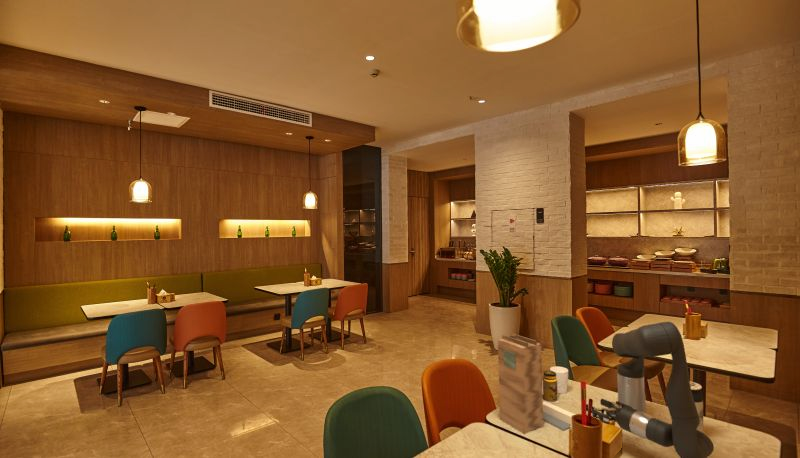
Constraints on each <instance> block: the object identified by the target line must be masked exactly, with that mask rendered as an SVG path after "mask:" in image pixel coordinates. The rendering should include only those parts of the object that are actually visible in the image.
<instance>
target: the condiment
mask: <svg viewBox="0 0 800 458" xmlns="http://www.w3.org/2000/svg"><path fill="white" fill-rule="evenodd" d="M558 394H559V393H557V379H556V373H555V372H554V371H550V370H544V371H543V374H542V396H543V402H544V401H546V402H548V403H551V404H552V403H553V404H554V403H555V404H559V403H560V401H559V396H558Z"/></svg>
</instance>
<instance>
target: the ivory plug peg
mask: <svg viewBox="0 0 800 458" xmlns="http://www.w3.org/2000/svg"><path fill="white" fill-rule="evenodd" d="M543 412H545V413H547V414H549V415H552V416H554V417H556V418H558V419H560V420H562V421H564V422H566V423H569V424H571V416H572V415H576V414H575V413H573V412H570V411H568V410H566V409H563V408H561V407H559V406H557V405H555V404H552V403H551V402H546V401H543Z"/></svg>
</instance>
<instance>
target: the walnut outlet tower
mask: <svg viewBox="0 0 800 458" xmlns="http://www.w3.org/2000/svg"><path fill="white" fill-rule="evenodd" d="M501 337H502V338H501V339H497V352H498V353H497V359H498V361H497V362H498V394H499V395H498V396H499V397H498V399H499V420H500V421H502V422H503V423H505V424H507V425H509V426H511V427H512V428H513V429H515V430H517V431H519V432H520V433H522V434H524V435H526V434H528V433H530V432H531V433H532V432H533V431H536V430H538V429H541V428H544V420H543V402H544V401H543V396H542V394H543V369H542V367H543V363H542V360H543V359H542V358H543V357H542V343H540V342H538V341H537V340H535V339H533V338H532V339H531V338H528V337H525V336H522V335H520V334H516V333H513V332H511V333H510V335H505V334H502V335H501Z"/></svg>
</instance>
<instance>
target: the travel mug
mask: <svg viewBox="0 0 800 458" xmlns="http://www.w3.org/2000/svg"><path fill="white" fill-rule="evenodd" d="M690 387H691V391H692V395H693V399H694V402H695V405H696V409H697V412H698V415H699V419H700V424H699V426H698V427H697V430H699V431H701V432H702V433H704V434H705V429H704V428H705V427H704V395H703V394H702V389H703V387H702V385H701V384H700V383H697V382H694V381H690Z"/></svg>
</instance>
